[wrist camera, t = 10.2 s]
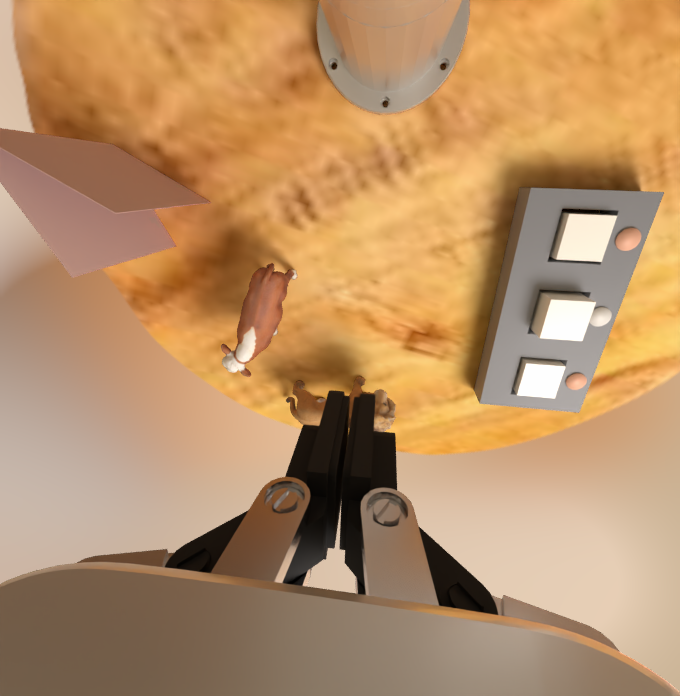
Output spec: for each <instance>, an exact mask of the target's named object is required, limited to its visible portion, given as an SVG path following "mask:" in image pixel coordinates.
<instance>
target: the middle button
mask: <svg viewBox="0 0 680 696" xmlns="http://www.w3.org/2000/svg"><path fill="white" fill-rule="evenodd" d="M595 304H596V302H595V301H593V300H591V299H589V298H588V297H586V296H584V295H582V294H581V293H579V292H572V291H555V290H539V294H538V297H537V301H536V305H535V308H534V312H533V315H532V319H531V322H530V326H529V328H530V329H531V330H532V331H533V332H534V333H535V334H536V335H537V336H538V337H539V338H544V339H558V340H572V341H583V338H584V335H585V332H586V329H587V326H588V324H589V321H590V318H591V315H592V312H593V310H594V307H595Z"/></svg>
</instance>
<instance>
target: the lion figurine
mask: <svg viewBox="0 0 680 696" xmlns="http://www.w3.org/2000/svg"><path fill="white" fill-rule="evenodd" d="M364 384H365V379H364V378H363V377H361V376H359V377H358V378H357V379H356V380H355V381H354V385H353V390H352V392H351V393H350V395H349V396H350V407H349V428H350V422H351V416H352V409H353V402H354V397H360V394H361V393H362V390H361V386H362V385H364ZM304 386H305V384H304V383H303V382H302V381H297V382H296V383H295V384H294V387H293V394H294V395H296V397H297V399H298V402H297V409H296V407H295V400H294V398H293V397H288V398H287V399H286V401H287V403H289V402H290V410H291V413H292V415H293V416H294V417H295V418H296V419H297V420H298V421H299V422H300V423H301V424H303V425H304V424H306V425H316V426H319V425H320V421H321V418H322V414H323V411H324V407H325V403H326V399H324V398H320V399H318V400H315V398H314V397H313V396H312V395H311V394H310V393H309V392H307V391H305V390H302V389H303V388H304ZM365 394H376V397H375V415H374V431H379V432H384V431H386V429H390V428H391V425H392V424H393V422H394V420H395V415H394V413H395V404H394V402H393V401H392V400H390V399H389V398H387V393H386V392H384V390H382V389H379V390H376V391H375V392H374V393H370V392H368V393H365Z"/></svg>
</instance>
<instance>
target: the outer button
mask: <svg viewBox="0 0 680 696" xmlns="http://www.w3.org/2000/svg"><path fill="white" fill-rule="evenodd" d="M565 367H566V366H565V365H564V364H563V363H562V362H561V361H560V360H556V359H543V358H530V357H521V358H520V362H519V366H518V369H517V373H516V376H515V380H514V384H513V387H512V388H513V389H514V391H515V393H516V394H517V395H520V396H532V397H543V398H554V399H555V396H556V393H557V390H558V388H559V385H560V382H561V379H562V376H563V373H564V370H565Z"/></svg>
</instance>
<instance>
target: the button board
mask: <svg viewBox="0 0 680 696" xmlns="http://www.w3.org/2000/svg"><path fill="white" fill-rule="evenodd" d="M663 194H664V192H643V191H613V190H584V189H554V188H525V187H520V188H519V193H518V197H517V202H516V206H515V210H514V215H513V219H512V224H511V228H510V233H509V237H508V242H507V246H506V250H505V255H504V259H503V264H502V268H501V273H500V277H499V281H498V286H497V290H496V295H495V299H494V304H493V308H492V313H491V317H490V321H489V326H488V330H487V335H486V339H485V344H484V348H483V352H482V357H481V361H480V366H479V370H478V375H477V379H476V384H475V388H474V391H475V394H476V396H477V398H478V401H479V403H480V404H490V405H501V406H512V407H523V408H534V409H545V410H556V411H567V412H578V413H579V412H580V409H581V406H582V404H583V401H584V399H585V396H586V394H587V391H588V388H589V386H590V383H591V381H592V378H593V375H594V373H595V370H596V368H597V365H598V362H599V360H600V357H601V355H602V352H603V349H604V347H605V344H606V342H607V339H608V337H609V334H610V331H611V329H612V326H613V324H614V321H615V318H616V316H617V313H618V311H619V308H620V305H621V303H622V300H623V298H624V295H625V292H626V290H627V287H628V285H629V282H630V280H631V277H632V274H633V272H634V269H635V267H636V264H637V261H638V259H639V256H640V254H641V251H642V248H643V246H644V243H645V241H646V238H647V235H648V233H649V230H650V228H651V225H652V223H653V220H654V217H655V215H656V212H657V210H658V207H659V204H660V202H661V199H662V197H663ZM562 208H566V209H591V210H600V212H599V213H601V214H608V215H615V216H617V218H616V221H615V224H614V227H613V230H612V233H611V236H610V239H609V242H608V245H607V248H606V250H605V253H604V256H603V259H602V262H596V261H576V260H557V259H554V258H552V257H549V254H550V251H551V247H552V243H553V240H554V236H555V233H556V229H557V226H558V222H559V218H560V215H561V211H562ZM540 289H542V290H559V291H574V292H579V293H581V294H582V295H584V296H586V297H588V298H589V299H591V300H593V301H595V302H596V304H595V307H594V310H593V312H592V315H591V318H590V321H589V324H588V326H587V329H586V332H585V335H584V338H583V341H572V340H558V339H544V338H539V337H538V336H537V335H536V334H535V333H534V332H533V331H532V330H531V329H530V328H529V326H530V322H531V319H532V315H533V312H534V308H535V305H536V301H537V297H538V294H539V290H540ZM521 357H530V358H543V359H556V360H560V361H561V362H562V363H563V364H564V365H565V366H566V367H565V370H564V373H563V376H562V379H561V382H560V385H559V388H558V390H557V393H556V396H555V399H554V398H543V397H532V396H520V395H517V394H516V393H515V391H514V389H513V388H512V387H513V384H514V380H515V376H516V373H517V369H518V366H519V362H520V358H521Z"/></svg>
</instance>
